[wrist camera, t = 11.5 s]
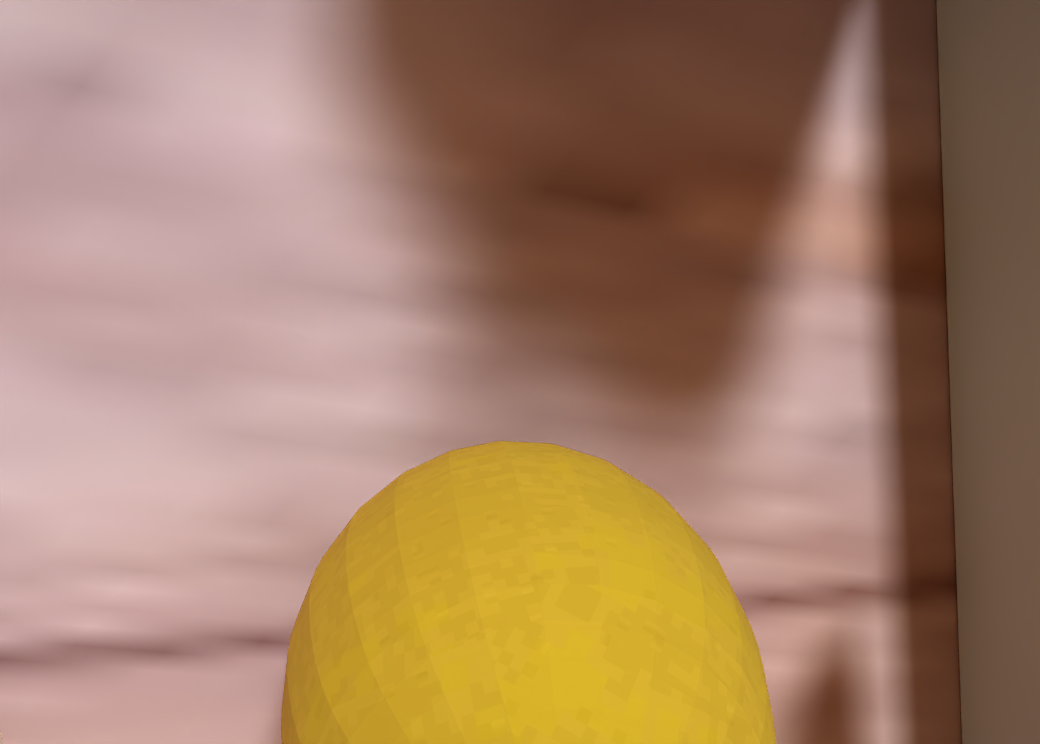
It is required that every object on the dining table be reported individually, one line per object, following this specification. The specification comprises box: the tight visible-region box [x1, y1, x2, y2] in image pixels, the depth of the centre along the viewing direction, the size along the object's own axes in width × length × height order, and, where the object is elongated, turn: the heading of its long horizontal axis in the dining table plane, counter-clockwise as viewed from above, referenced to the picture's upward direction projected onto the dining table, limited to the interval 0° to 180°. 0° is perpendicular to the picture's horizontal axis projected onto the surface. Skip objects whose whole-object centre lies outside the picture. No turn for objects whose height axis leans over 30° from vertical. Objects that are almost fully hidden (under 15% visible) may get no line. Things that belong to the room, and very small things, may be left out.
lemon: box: [281, 441, 776, 744], centre depth 11 cm, size 6×6×8 cm
